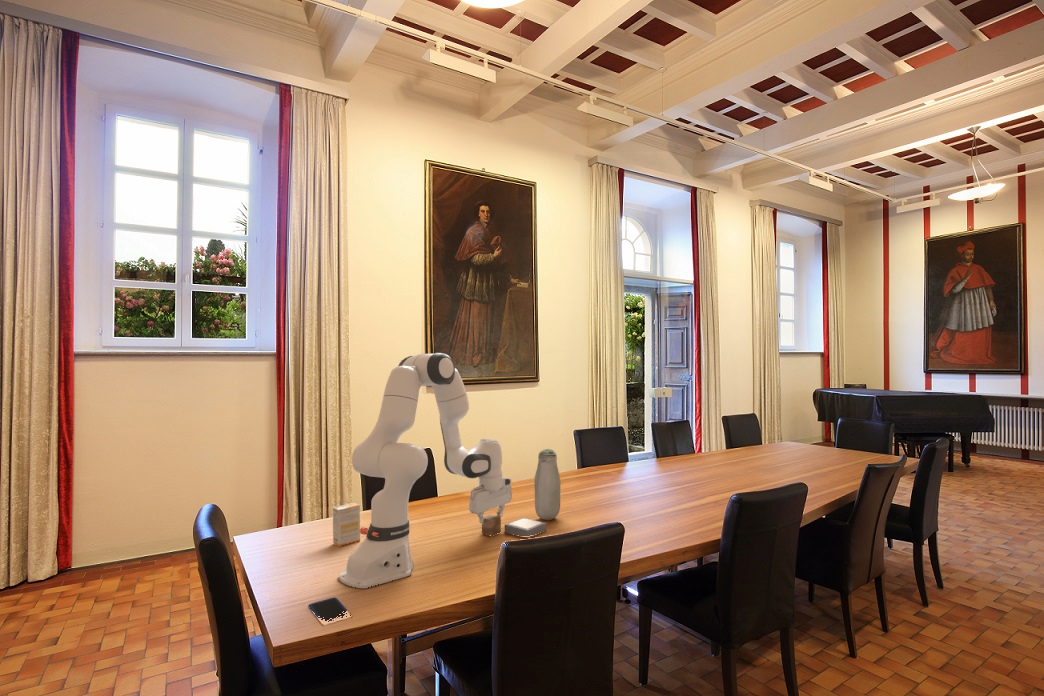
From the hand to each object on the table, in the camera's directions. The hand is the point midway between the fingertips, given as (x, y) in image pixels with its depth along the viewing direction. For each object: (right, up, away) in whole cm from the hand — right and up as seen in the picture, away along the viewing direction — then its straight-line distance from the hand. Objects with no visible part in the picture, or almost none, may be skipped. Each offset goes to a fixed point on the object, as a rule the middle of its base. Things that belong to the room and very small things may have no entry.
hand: (491, 519), depth 199 cm
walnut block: (0, -5, -1) cm, 5 cm away
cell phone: (-38, -5, -61) cm, 72 cm away
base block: (+13, -5, 0) cm, 14 cm away
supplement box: (-51, -5, -9) cm, 52 cm away
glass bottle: (+22, -5, +16) cm, 28 cm away
